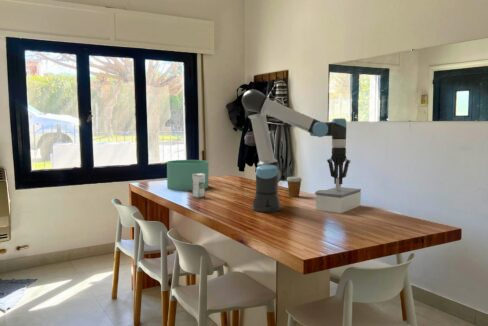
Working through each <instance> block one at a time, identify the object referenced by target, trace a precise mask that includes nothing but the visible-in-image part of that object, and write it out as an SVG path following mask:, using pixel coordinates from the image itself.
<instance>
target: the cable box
mask: <svg viewBox="0 0 488 326" xmlns="http://www.w3.org/2000/svg"><path fill="white" fill-rule="evenodd" d="M361 194H362V191H360V192H356V193H353V194H350V195H347V196H344V197H333V196H323V195H315V202H316V203H315V210H316V211H323V212H329V213H334V214H342V213H345V212H347V211H352V210H353V209H355V208H358V207H360V206H361V197H362V196H361Z"/></svg>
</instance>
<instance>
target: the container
mask: <svg viewBox="0 0 488 326" xmlns="http://www.w3.org/2000/svg"><path fill="white" fill-rule="evenodd" d="M209 169H210V167H209V161H208V160H202V159H178V160H177V159H176V160H175V159H174V160H167V162H166V179H167V180H166V186H167V187H166V188H167V189H169V190H175V191H192V174H197V173H202V174H205V190H206V189H208V188H209V186H210V185H209V176H210V174H209V171H210V170H209Z"/></svg>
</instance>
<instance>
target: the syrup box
mask: <svg viewBox="0 0 488 326" xmlns="http://www.w3.org/2000/svg"><path fill="white" fill-rule="evenodd" d="M191 191H192V192H191V193H192V195H191V197H192V198H197V199H199V198H204V197H205V196H206V193H205V192H206V189H205V174H202V173H197V174H192V190H191Z"/></svg>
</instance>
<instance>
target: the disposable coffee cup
mask: <svg viewBox="0 0 488 326" xmlns="http://www.w3.org/2000/svg"><path fill="white" fill-rule="evenodd" d="M302 180H303V179H302V177H301V176H288V177H287V179H286V181H287V190H288V197H290V198H298V197H300V192H301V184H302Z"/></svg>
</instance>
